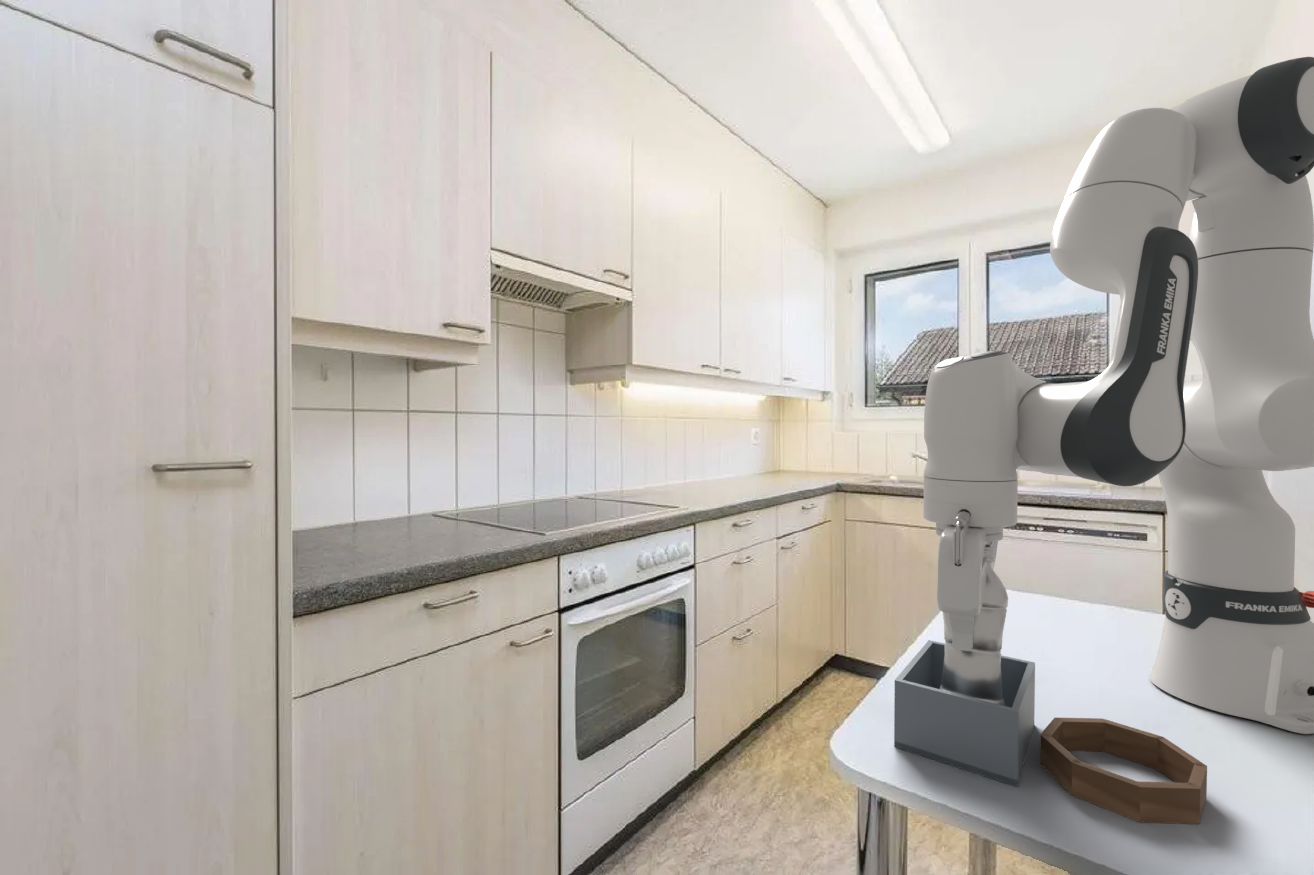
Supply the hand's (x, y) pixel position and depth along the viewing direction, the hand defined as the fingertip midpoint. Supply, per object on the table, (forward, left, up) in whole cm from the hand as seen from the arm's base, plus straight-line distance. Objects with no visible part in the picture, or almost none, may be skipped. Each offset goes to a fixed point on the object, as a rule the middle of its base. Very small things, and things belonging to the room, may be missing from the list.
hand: (967, 633), depth 63 cm
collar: (-10, +7, -11) cm, 17 cm away
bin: (0, 0, -11) cm, 11 cm away
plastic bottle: (+1, +3, -10) cm, 11 cm away
